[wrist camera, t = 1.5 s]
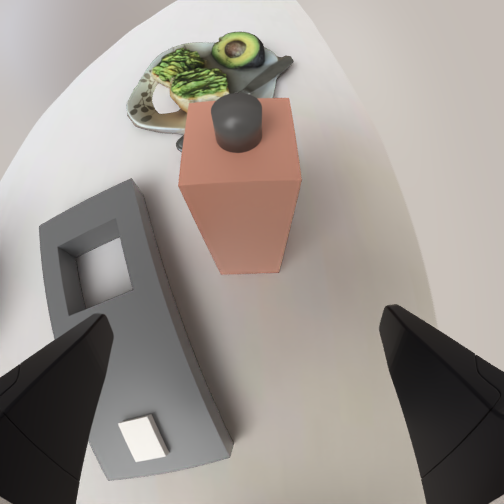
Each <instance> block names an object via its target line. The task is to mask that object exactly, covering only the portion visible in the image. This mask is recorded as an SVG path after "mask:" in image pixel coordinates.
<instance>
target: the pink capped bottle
mask: <svg viewBox="0 0 504 504" xmlns="http://www.w3.org/2000/svg"><path fill="white" fill-rule="evenodd" d="M301 181H302V179H301V171H300V164H299V157H298V150H297V143H296V137H295V130H294V124H293V118H292V112H291V106H290V100H289V98H256V97H254V96H252V95H249V94H246V93H231V94H227V95H224V96H222V97H220V98H219V99H218V100H216V101H206V102H196V103H189V106H188V112H187V119H186V126H185V133H184V140H183V148H182V156H181V165H180V174H179V184H178V186H179V188H180V191H181V193H182V195H183V197H184V199H185V201H186V203H187V205H188V208H189V210H190V212H191V214H192V216H193V218H194V220H195V222H196V224H197V226H198V229H199V231H200V233H201V235H202V237H203V239H204V241H205V243H206V245H207V247H208V249H209V251H210V253H211V255H212V257H213V259H214V261H215V263H216V265H217V267H218V269H219V271H220V273H221V275H223V274H253V273H279V270H280V266H281V263H282V259H283V255H284V251H285V247H286V243H287V239H288V235H289V231H290V227H291V223H292V219H293V215H294V210H295V206H296V202H297V198H298V194H299V190H300V185H301Z"/></svg>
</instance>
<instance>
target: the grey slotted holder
mask: <svg viewBox="0 0 504 504" xmlns="http://www.w3.org/2000/svg"><path fill="white" fill-rule="evenodd" d="M39 236H40V250H41V261H42V270H43V278H44V286H45V292H46V299H47V305H48V310H49V315H50V320H51V325H52V330H53V334H54V339H57V338H58V337H60V336H61V335H62V334H64V333H65V332H67V331H68V330H70V329H71V328H73V327H74V326H76V325H77V324H79V323H80V322H82V321H83V320H85V319H86V318H88V317H89V316H91V315H92V314H94V313H101V314H105V315H106V316H107V318H108V320H109V323H110V326H111V328H112V331H113V334H114V340H113V344H112V349H111V354H110V358H109V363H108V368H107V373H106V377H105V381H104V384H103V388H102V391H101V394H100V398H99V401H98V405H97V409H96V412H95V416H94V420H93V424H92V427H91V431H90V435H89V440H88V441H89V443H90V446H91V448H92V450H93V452H94V454H95V456H96V458H97V460H98V462H99V464H100V466H101V468H102V470H103V472H104V474H105V476H106V478H107V480H108V481H112V480H122V479H131V478H138V477H145V476H152V475H158V474H163V473H169V472H174V471H179V470H184V469H188V468H193V467H197V466H201V465H205V464H209V463H213V462H216V461H220V460H223V459H227V458H230V456H231V452H232V449H233V445H234V443H233V441H232V439H231V437H230V435H229V433H228V431H227V429H226V427H225V425H224V422H223V420H222V418H221V416H220V414H219V411H218V409H217V407H216V405H215V402H214V400H213V398H212V396H211V393H210V391H209V389H208V386H207V384H206V381H205V379H204V377H203V374H202V372H201V369H200V367H199V364H198V362H197V359H196V357H195V354H194V352H193V349H192V347H191V344H190V341H189V339H188V336H187V333H186V331H185V328H184V325H183V322H182V320H181V317H180V314H179V311H178V308H177V306H176V303H175V300H174V297H173V294H172V291H171V288H170V285H169V282H168V279H167V276H166V273H165V269H164V266H163V263H162V260H161V256H160V253H159V250H158V246H157V243H156V240H155V236H154V233H153V229H152V226H151V222H150V218H149V215H148V211H147V207H146V203H145V200H144V196H143V194H142V193H141V191H140V190H139V188H138V187H137V185H136V184H135V183H134V181H133V180H132V178H131V179H129V180H127V181H124V182H122V183H120V184H118V185H116V186H114V187H112V188H109V189H107V190H105V191H103V192H101V193H99V194H97V195H95V196H93V197H91V198H89V199H87V200H85V201H83V202H81V203H80V204H78V205H76V206H74V207H72V208H70V209H68V210H66V211H65V212H63V213H61V214H59V215H57V216H56V217H54V218H52V219H50V220H49V221H47V222H45V223H43V224H42V225H40V226H39ZM119 237H120V239H121V244H122V248H123V252H124V256H125V260H126V264H127V268H128V272H129V276H130V280H131V283H132V287H133V290H132V291H129V292H127V293H124V294H122V295H119V296H117V297H114V298H112V299H109V300H107V301H105V302H102V303H100V304H97V305H95V306H92V307H90V308H87V309H85V304H84V300H83V295H82V290H81V286H80V280H79V275H78V269H77V264H76V257H78V256H80V255H82V254H84V253H86V252H88V251H91V250H93V249H95V248H97V247H99V246H101V245H103V244H105V243H108V242H110V241H112V240H114V239H116V238H119Z"/></svg>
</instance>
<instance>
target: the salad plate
mask: <svg viewBox="0 0 504 504" xmlns="http://www.w3.org/2000/svg"><path fill="white" fill-rule="evenodd" d="M292 63H293V59H292V58H291V56H284V57H278V56H276V55H275V54H274V53H273V52H272V51H270V50H269V49H267V48H264V46H263V43H262V42H261V41H260V40H259V38H257V37H256V36H255V35H253V34H250V33H247V32H232V33H228V34H226V35H224V36H223V37H220V38H219V42H216V43H203V42H199V43H187V44H182V45H179V46H176V47H173V48H171V49H169V50H167V51H165V52H163V53H161V54H160V55H159V56H157V57H156V58H155V59H154V60H153V61H152V63H151V64H150V65H149V67H148V68H147V70H146V72H145V73H144V75H143V77H142V78H141V80H140V81H139V83H138V85H137V86H136V87H135V88H134V90H133V92H132V94H131V96H130V98H129V100H128V102H127V105H126V109H127V116H128V117H129V118H130V120H131V121H132V123H133V124H134V125H135V126H136V127H138V128H142V129H146V130H151V131H155V132H160V133H176V134H183V136H182V137H181V138H180V139H179V140H178V141H177V143H176V147H177V149H178V150H179V151H181V152H182V148H183V140H184V133H185V126H186V119H187V112H188V106H189V103H196V102H206V101H216V100H218V99H219V98H220V97H222V96H224V95H227V94H231V93H235V92H238V93H246V94H249V95H252V96H254V97H256V98H273V96H274V89H275V84H276V79H277V77H278V76H279V75H280V74H281V73H283V72H284V71H285V70H286V69H287V68H288V67H289V66H290V65H291V64H292ZM158 83H161V84H162V85H163V86H166V87H168V88H170V96H171V98H172V99H173V100H174V101H175V102H176V104H178V105H179V107H180V108H181V109H180V110H179V111H177V112H173V113H167V114H159V113H158V112H157V111H156V110H155V108H154V106H153V103H152V95H153V92H154V90H155V87H156V85H157V84H158Z"/></svg>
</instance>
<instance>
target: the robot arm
mask: <svg viewBox="0 0 504 504" xmlns="http://www.w3.org/2000/svg"><path fill="white" fill-rule="evenodd" d="M379 331H380V336H381V339H382V343H383V348H384V352H385V356H386V360H387V365H388V368H389V372H390V375H391V378H392V381H393V384H394V387H395V390H396V393H397V396H398V399H399V402H400V405H401V408H402V411H403V414H404V418H405V421H406V424H407V428H408V431H409V434H410V438H411V441H412V445H413V449H414V452H415V456H416V460H417V464H418V468H419V472H420V476H421V478H422V479H421V481H422V485H423V489H424V494H425V499H426V503H427V504H504V372H503V371H501V370H499V369H498V368H496V367H495V366H493V365H491V364H490V363H488V362H487V361H485V360H483V359H482V358H481V357H479V356H477V355H475V353H473V352H471V351H470V350H468V349H467V348H465V347H464V346H462V345H461V344H459V343H458V342H456V341H455V340H453V339H452V338H450V337H448V336H447V335H445V334H444V333H442V332H441V331H439V330H437V329H436V328H434V327H433V326H431V325H430V324H428V323H426V322H425V321H423V320H422V319H420V318H418V317H417V316H415V315H414V314H412V313H410V312H409V311H407V310H406V309H404V308H402V307H401V306H399V305H397V304H394V305H387V306H385V308H384V311H383V314H382V318H381V322H380V326H379ZM113 340H114V334H113V331H112V328H111V326H110V323H109V320H108V318H107V316H106V315H105V314H101V313H94V314H92V315H91V316H89V317H88V318H86V319H85V320H83V321H82V322H80V323H79V324H77V325H76V326H74V327H73V328H71V329H70V330H68V331H67V332H65V333H64V334H62V335H61V336H60V337H58V338H57V339H55V340H54V341H52V342H51V343H49V344H48V345H46V346H45V347H43V348H42V349H41V350H39V351H38V352H36V353H35V354H33V355H32V356H31V357H29V358H28V359H26V360H25V361H23V362H22V363H21V365H18V366H16V367H15V368H14V369H12V370H11V371H9V372H8V373H6V374H5V375H3V376H2V377H0V504H76V500H77V494H78V488H79V481H80V476H81V471H82V466H83V462H84V457H85V452H86V448H87V444H88V440H89V435H90V431H91V427H92V424H93V420H94V416H95V412H96V409H97V405H98V401H99V398H100V394H101V391H102V388H103V384H104V381H105V377H106V373H107V368H108V363H109V358H110V354H111V349H112V344H113Z"/></svg>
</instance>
